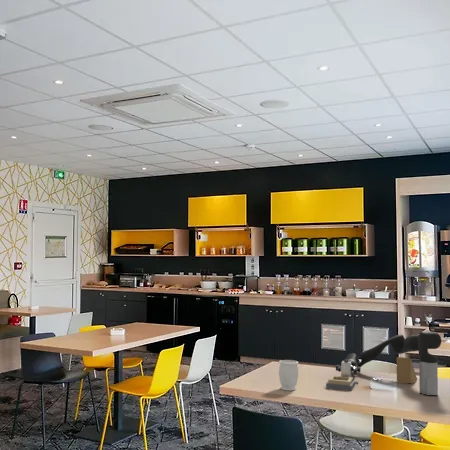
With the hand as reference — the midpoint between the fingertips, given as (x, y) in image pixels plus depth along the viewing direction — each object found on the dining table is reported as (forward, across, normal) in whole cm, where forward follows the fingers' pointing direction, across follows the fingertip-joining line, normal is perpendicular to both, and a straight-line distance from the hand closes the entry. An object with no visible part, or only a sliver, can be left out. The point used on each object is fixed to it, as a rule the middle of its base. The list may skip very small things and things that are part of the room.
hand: (346, 370), depth 314 cm
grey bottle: (+2, 0, +7) cm, 7 cm away
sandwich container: (-20, +33, +7) cm, 40 cm away
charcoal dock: (+13, -2, +7) cm, 15 cm away
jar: (+32, -27, +7) cm, 42 cm away
